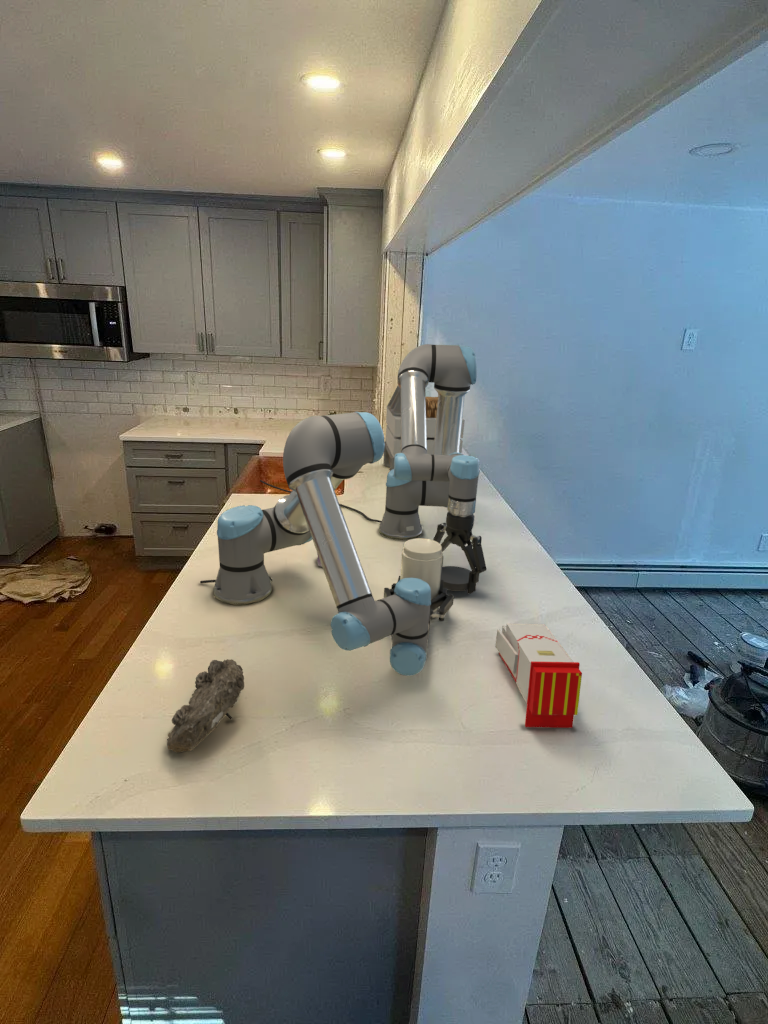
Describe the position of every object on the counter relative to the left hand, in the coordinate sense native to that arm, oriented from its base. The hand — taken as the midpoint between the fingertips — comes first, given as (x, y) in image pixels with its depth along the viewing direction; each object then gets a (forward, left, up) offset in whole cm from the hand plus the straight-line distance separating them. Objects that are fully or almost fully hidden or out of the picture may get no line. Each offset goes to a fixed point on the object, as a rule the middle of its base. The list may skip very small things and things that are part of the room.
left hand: (420, 582), depth 151 cm
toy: (+26, -31, -6) cm, 41 cm away
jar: (0, -4, -6) cm, 7 cm away
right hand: (+9, +10, -5) cm, 15 cm away
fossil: (-35, -53, -6) cm, 64 cm away
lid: (+9, +10, -2) cm, 14 cm away
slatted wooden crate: (-10, +129, -6) cm, 129 cm away
